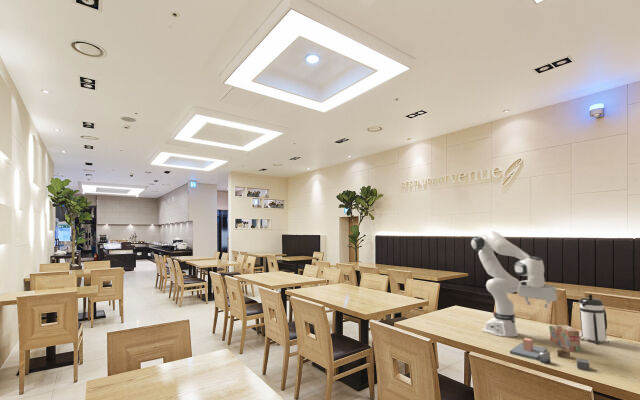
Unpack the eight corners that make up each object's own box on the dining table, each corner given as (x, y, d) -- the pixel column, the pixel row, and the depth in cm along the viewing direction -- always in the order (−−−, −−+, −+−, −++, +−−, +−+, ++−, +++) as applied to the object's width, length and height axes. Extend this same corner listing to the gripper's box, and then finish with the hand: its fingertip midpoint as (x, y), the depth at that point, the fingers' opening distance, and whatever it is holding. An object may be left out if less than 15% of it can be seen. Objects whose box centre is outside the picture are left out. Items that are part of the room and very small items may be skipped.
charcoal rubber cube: (577, 369, 174) (577, 361, 174) (576, 365, 178) (576, 358, 179) (590, 371, 171) (589, 363, 172) (588, 367, 176) (588, 360, 176)
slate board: (509, 353, 197) (509, 350, 197) (521, 345, 210) (521, 342, 210) (536, 360, 186) (536, 357, 187) (547, 351, 200) (547, 348, 200)
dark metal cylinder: (538, 362, 184) (537, 352, 184) (541, 359, 187) (540, 350, 187) (549, 364, 180) (548, 355, 180) (551, 362, 183) (551, 352, 184)
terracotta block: (523, 349, 199) (522, 339, 199) (525, 347, 201) (525, 337, 202) (531, 351, 196) (530, 340, 196) (533, 349, 198) (532, 339, 199)
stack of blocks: (550, 339, 220) (548, 320, 221) (560, 340, 219) (558, 320, 220) (569, 351, 199) (568, 330, 200) (581, 351, 198) (579, 330, 199)
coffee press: (614, 346, 205) (609, 297, 207) (581, 342, 213) (577, 295, 216) (608, 338, 219) (604, 292, 222) (577, 335, 228) (574, 290, 230)
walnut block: (557, 356, 191) (557, 349, 191) (559, 354, 195) (559, 347, 195) (568, 359, 187) (567, 351, 188) (570, 356, 191) (569, 349, 191)
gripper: (557, 285, 198) (559, 308, 197) (520, 280, 213) (521, 302, 212) (554, 286, 194) (556, 310, 193) (516, 281, 209) (517, 304, 208)
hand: (537, 306), depth 203 cm, fingers open, 8 cm apart
